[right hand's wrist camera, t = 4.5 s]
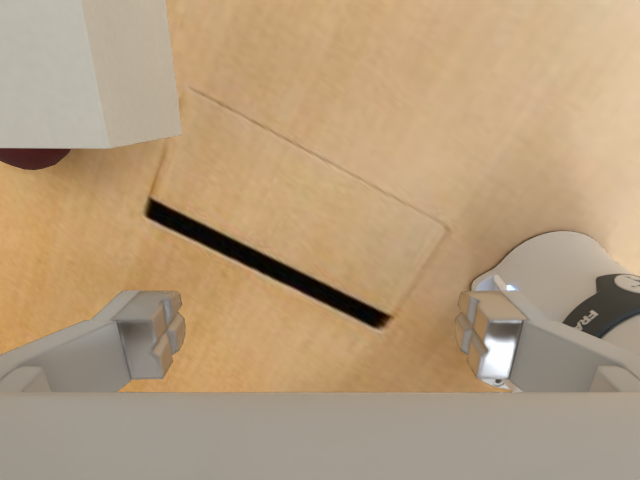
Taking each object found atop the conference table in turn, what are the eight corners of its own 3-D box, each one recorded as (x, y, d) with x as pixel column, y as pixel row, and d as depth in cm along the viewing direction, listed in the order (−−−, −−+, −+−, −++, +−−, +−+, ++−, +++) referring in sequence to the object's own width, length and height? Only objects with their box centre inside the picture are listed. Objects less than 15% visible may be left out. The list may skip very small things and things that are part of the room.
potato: (3, 90, 36) (-69, 87, 29) (79, 89, 36) (24, 85, 29) (25, 164, 38) (-37, 176, 32) (97, 163, 38) (50, 175, 32)
